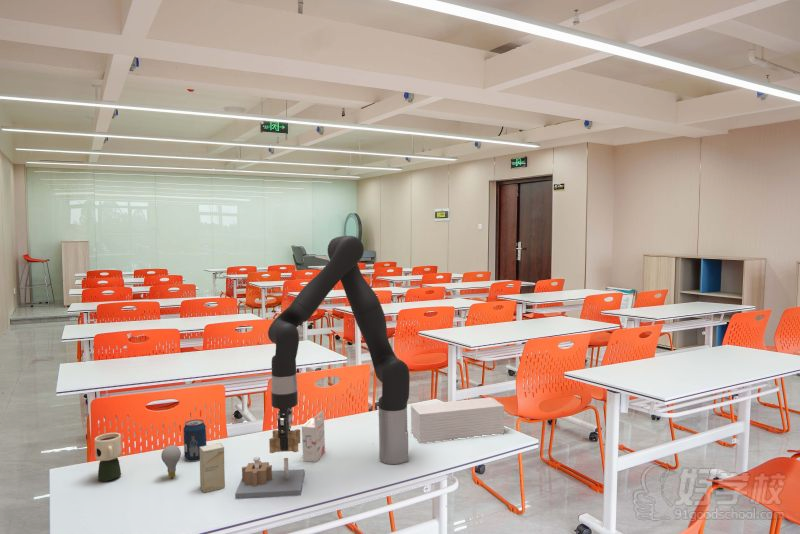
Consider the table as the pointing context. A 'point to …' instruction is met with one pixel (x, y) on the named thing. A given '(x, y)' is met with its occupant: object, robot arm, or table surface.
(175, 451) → the light bulb
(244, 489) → the gear board
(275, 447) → the oak gear
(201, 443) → the soda can
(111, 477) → the character mug
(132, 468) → the table surface
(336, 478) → the table surface
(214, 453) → the skincare box
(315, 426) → the ink cartridge box
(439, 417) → the stack of papers
